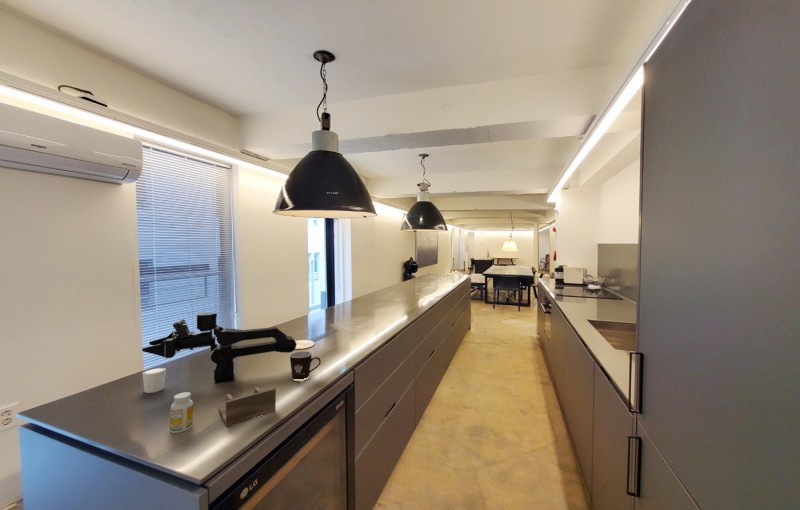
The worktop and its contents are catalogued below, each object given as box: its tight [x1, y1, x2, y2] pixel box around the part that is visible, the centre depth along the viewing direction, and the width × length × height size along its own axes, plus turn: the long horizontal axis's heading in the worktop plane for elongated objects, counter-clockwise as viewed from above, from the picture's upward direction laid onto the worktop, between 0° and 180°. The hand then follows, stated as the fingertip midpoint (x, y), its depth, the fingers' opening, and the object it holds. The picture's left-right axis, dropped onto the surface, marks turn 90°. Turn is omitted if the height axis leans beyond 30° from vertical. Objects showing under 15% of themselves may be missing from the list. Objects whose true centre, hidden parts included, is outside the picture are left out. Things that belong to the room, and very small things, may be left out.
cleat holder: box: [217, 386, 277, 428], centre depth 97 cm, size 12×14×7 cm
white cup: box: [142, 367, 167, 394], centre depth 112 cm, size 7×7×7 cm
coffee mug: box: [289, 350, 322, 379], centre depth 123 cm, size 12×9×10 cm
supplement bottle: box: [169, 391, 194, 434], centre depth 87 cm, size 5×5×10 cm
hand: (146, 346), depth 110 cm, fingers open, 9 cm apart
